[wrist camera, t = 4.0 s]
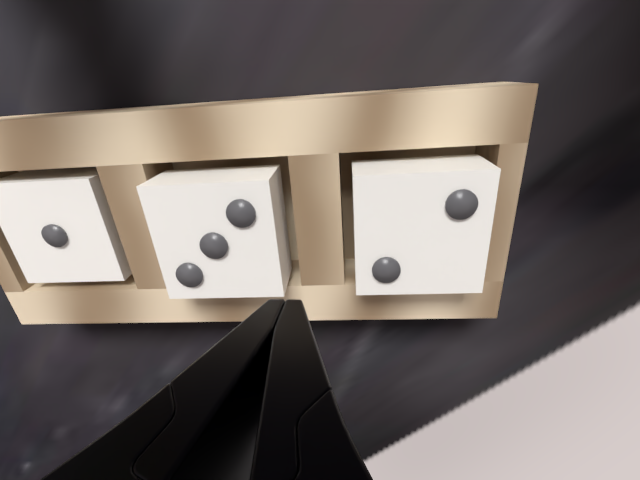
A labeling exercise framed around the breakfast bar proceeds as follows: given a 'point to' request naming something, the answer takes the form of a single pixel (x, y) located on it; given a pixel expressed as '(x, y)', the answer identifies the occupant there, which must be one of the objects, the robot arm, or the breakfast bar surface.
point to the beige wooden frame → (297, 181)
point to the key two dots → (423, 224)
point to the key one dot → (61, 226)
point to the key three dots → (219, 231)
